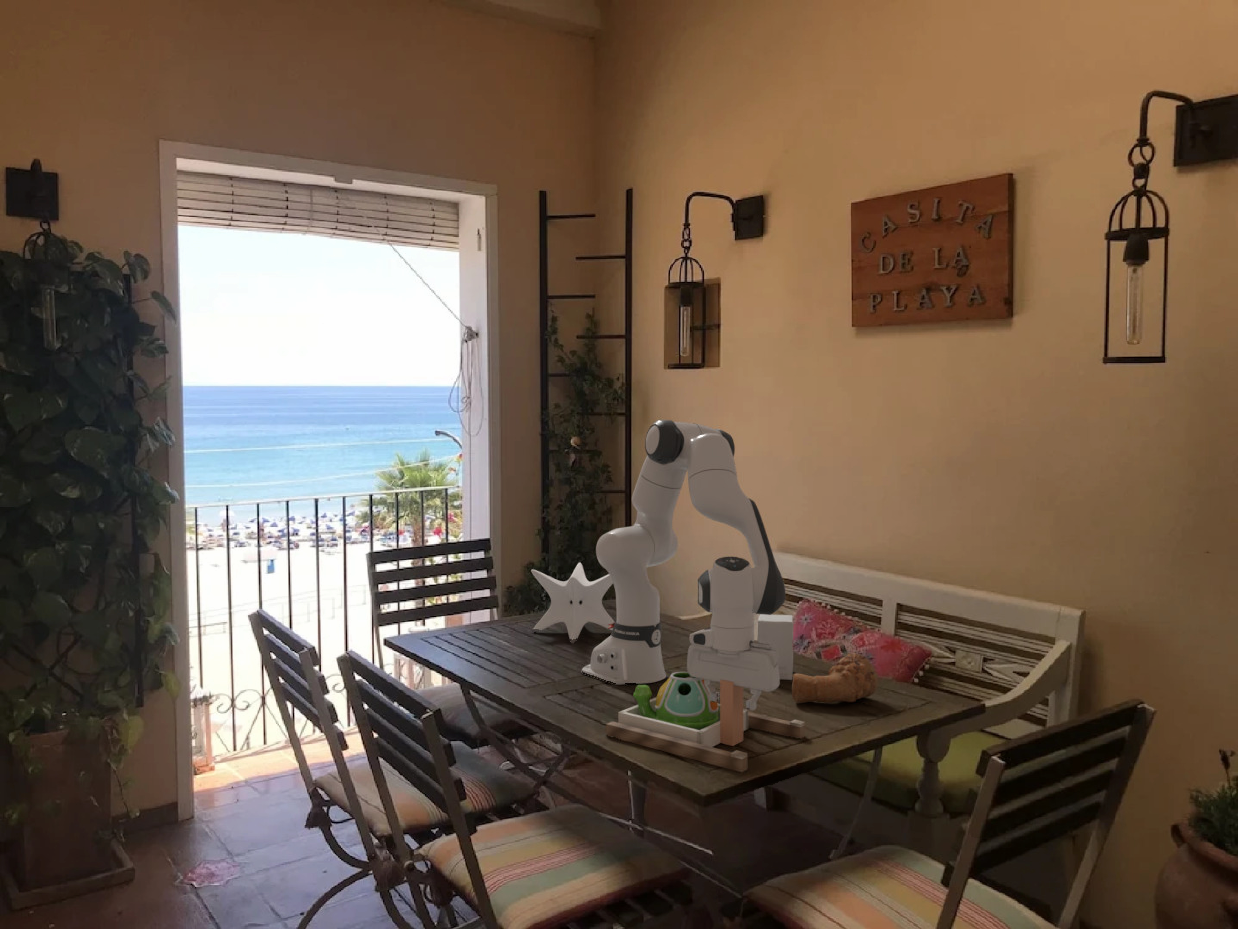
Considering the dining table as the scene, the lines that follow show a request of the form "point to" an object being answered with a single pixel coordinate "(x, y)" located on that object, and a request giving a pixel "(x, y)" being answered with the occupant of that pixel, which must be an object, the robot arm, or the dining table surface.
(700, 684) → the turtle holder
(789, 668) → the supplement box
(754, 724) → the bay rails
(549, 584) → the starfish
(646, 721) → the sled
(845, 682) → the clay pipe
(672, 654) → the dining table surface
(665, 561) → the robot arm
